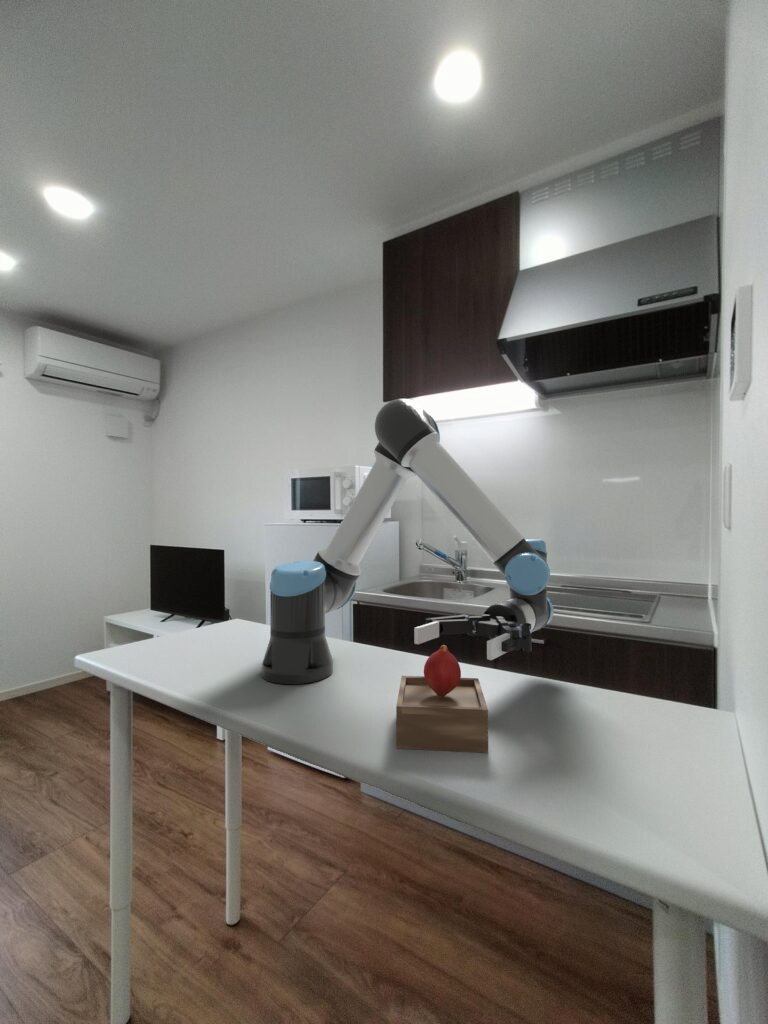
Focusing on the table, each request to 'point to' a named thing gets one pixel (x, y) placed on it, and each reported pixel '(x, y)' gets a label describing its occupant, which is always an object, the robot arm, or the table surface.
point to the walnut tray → (441, 717)
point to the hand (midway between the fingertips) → (450, 642)
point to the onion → (442, 672)
